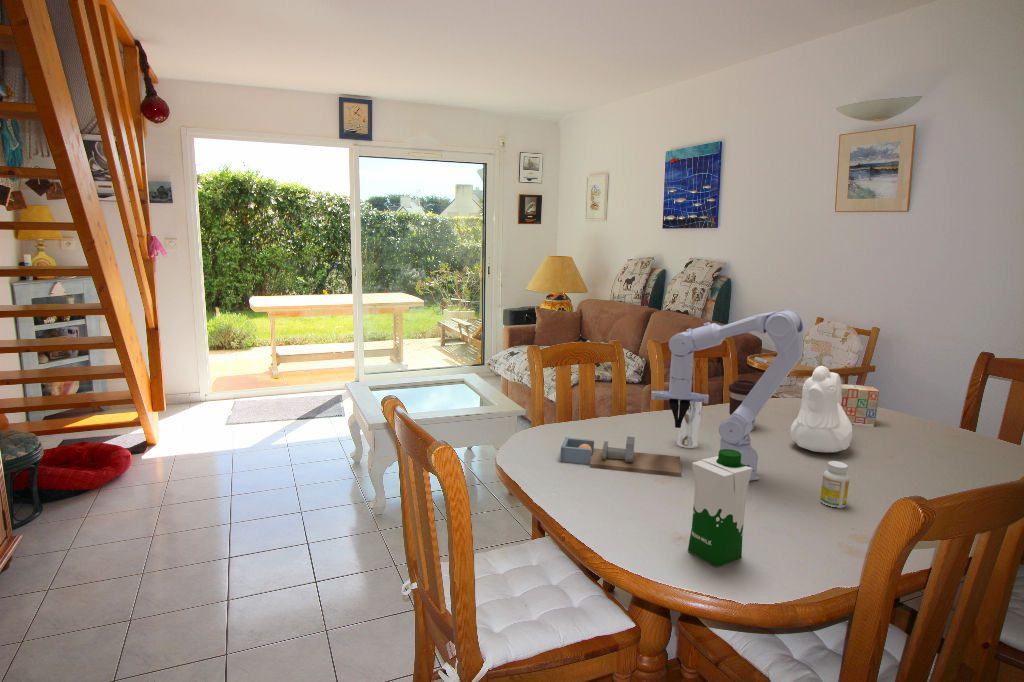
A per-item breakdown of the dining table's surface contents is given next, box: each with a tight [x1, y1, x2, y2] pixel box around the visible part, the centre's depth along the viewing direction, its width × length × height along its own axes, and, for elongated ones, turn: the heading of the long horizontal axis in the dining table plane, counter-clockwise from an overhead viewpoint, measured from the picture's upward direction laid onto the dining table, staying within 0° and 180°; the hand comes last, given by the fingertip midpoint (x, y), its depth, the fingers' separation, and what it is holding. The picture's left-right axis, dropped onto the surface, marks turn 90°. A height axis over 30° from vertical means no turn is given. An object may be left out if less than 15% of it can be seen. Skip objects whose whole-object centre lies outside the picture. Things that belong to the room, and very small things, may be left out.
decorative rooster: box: [789, 365, 853, 453], centre depth 177 cm, size 25×16×25 cm, turn 127°
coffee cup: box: [728, 379, 757, 431], centre depth 195 cm, size 10×10×15 cm
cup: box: [559, 436, 595, 466], centre depth 167 cm, size 8×8×4 cm
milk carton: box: [687, 449, 752, 568], centre depth 116 cm, size 9×9×20 cm
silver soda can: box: [676, 391, 704, 449], centre depth 178 cm, size 7×7×15 cm
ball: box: [578, 444, 592, 456], centre depth 166 cm, size 4×4×4 cm
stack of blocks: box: [841, 383, 880, 426], centre depth 205 cm, size 21×6×12 cm, turn 76°
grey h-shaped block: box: [602, 436, 636, 463], centre depth 164 cm, size 8×6×5 cm
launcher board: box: [589, 447, 682, 477], centre depth 163 cm, size 23×12×1 cm, turn 77°
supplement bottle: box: [819, 460, 851, 509], centre depth 140 cm, size 5×5×10 cm
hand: (677, 426), depth 165 cm, fingers closed
